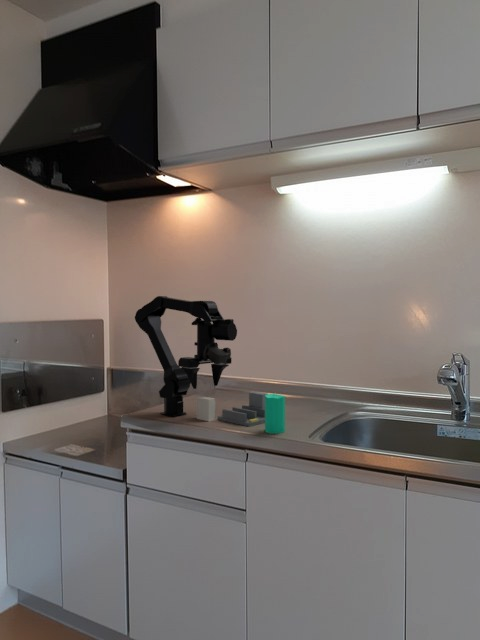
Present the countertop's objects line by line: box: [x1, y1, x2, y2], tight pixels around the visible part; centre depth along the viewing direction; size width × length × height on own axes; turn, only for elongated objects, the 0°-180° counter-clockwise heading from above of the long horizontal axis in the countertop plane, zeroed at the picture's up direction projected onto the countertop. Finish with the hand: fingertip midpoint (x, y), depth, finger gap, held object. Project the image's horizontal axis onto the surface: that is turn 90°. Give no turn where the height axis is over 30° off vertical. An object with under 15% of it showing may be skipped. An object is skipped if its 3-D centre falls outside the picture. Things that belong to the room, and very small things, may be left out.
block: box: [195, 395, 216, 422], centre depth 162 cm, size 6×3×7 cm, turn 46°
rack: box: [217, 391, 269, 427], centre depth 162 cm, size 14×15×8 cm
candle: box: [264, 393, 286, 434], centre depth 147 cm, size 6×6×12 cm
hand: (205, 387), depth 162 cm, fingers open, 9 cm apart
